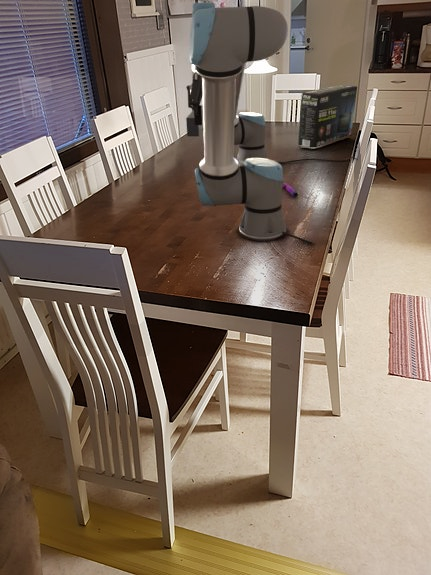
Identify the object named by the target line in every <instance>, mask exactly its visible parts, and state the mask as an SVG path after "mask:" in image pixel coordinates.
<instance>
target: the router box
mask: <svg viewBox="0 0 431 575" xmlns="http://www.w3.org/2000/svg"><path fill="white" fill-rule="evenodd" d="M357 93H358V86H356V85H350V84H339V85H338V84H337V85H334V86H328V87H324V88H318V89H314V90H309V91H304V92H301V93H300V109H299V110H300V111H299V124H298V137H297V146H298V145H302V146H307V147H317V146H320V145H323V144H325V143H328V142H331V141H333V140H336V139H338V138H341V137H344V136H347V135H351V136H352V133H353V132H352V131H353V125H354V115H355V109H356V99H357ZM311 151H313V150H312V149H311Z"/></svg>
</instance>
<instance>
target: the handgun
mask: <svg viewBox="0 0 431 575" xmlns="http://www.w3.org/2000/svg"><path fill="white" fill-rule="evenodd" d="M283 189H286V191H287V192H289V193H290V195H291V196H292V197H293V198H298V196H299V194H298V192H297V191H296V190H295V189H294V188H293V187H292V186H291V185H289V184H288V183H287V182H286V181H285V180H284V179H283V181H282V190H283Z"/></svg>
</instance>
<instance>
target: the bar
mask: <svg viewBox="0 0 431 575" xmlns="http://www.w3.org/2000/svg"><path fill="white" fill-rule="evenodd" d="M201 107H202V125H195V120H194V110H193V111H192V110H191V112H190V113H189V114H188V115H187V116H186V117H185V121H186V136H187V137H200V136H201V135H202V133H203V132H204V126H203V105H201Z"/></svg>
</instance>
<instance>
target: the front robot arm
mask: <svg viewBox="0 0 431 575" xmlns="http://www.w3.org/2000/svg"><path fill="white" fill-rule="evenodd" d="M191 10H192V12H191V16H192V17H191V24H190V32H189V53H188V54H189V62H190V64H193V65H195V68H196V72H197V73H198V74H195V73H194V74H193V84H192V83H191V84H192V89H191V95H190V100H189V104H190V105H193V106H194V120H195V125H202V107H201V106H203V126H204V130H203V156H204V157H203V158H201V159H200V161H199V167H196V168H195V169H194V176H195V182H196V188H197V192H198V197H199V201H200V204H201V205H202V206H204V207H217V206H228V205H244V211H243V213H242V216H241V220H240V222H239V226H238V232H239V235H240V236H241V237H242V238H244V239H247V240H250V241H254V242H271V241H277V240H279V239H281V238H283V237H285V236H288V237H290V238H293V239H296V240H298V241H301V242H303V243H306V244H310V245H311V244H313V241H311V240H308V239H305V238H301V237H299V236H297V235H294V234H292V233H289V232H287V223H286V221H285V216H284V214H283V210H282V200H283V188H282V181H283V180H284V174H283V173H284V172H283V171H284V170H283V166H282V164H280V163H278V162H279V161H277V160H274V159H273V160H272V159H270V158H268V159H264V158H250V159H246V160H245V162H244V165H239V164H238V161H237V160H236V159H237V158H235V145H234V124H235V83H236V76H237V75H238V74H240V73H241V71H242V62H246V63H248V62H249V63H250V62H258V61H259V62H260V61H263V60H266V59H268V58H270V57H273V56H274V55H276V53H278V52H279V51H280V50H281V49H282V48H283V46H284V45H285V43H286V40H287V38H288V35H289V33H288V32H289V27H288V22H287V20H286V18H285V16H284V15H283V13H281V11H278V10H277V9H274V8H271V7H267V6H261V5H250V6H226V7H225V6H224V7H222V6H220V7H216V4H215V3H214V2H213V1H208V2H207V1H206V2H194V3H192V8H191ZM201 102H202V104H201ZM276 161H277V162H276Z"/></svg>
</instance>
